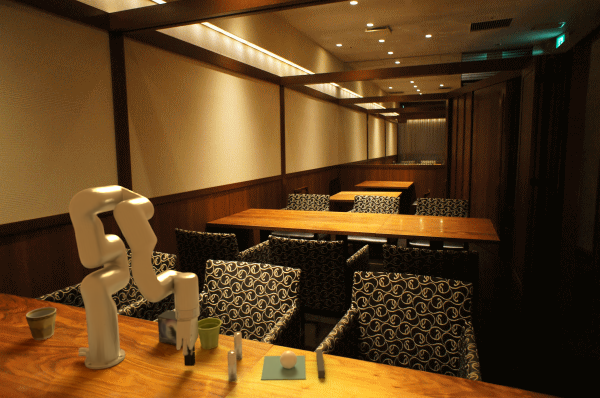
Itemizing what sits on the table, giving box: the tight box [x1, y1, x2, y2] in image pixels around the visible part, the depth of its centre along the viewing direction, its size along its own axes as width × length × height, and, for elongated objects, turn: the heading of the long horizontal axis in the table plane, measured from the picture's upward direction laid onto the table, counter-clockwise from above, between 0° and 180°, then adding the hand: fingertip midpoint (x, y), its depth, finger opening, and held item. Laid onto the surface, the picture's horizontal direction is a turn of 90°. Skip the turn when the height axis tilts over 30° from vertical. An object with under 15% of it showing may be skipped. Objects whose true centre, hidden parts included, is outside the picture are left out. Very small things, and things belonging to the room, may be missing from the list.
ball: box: [280, 350, 297, 369], centre depth 131 cm, size 6×6×6 cm
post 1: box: [227, 349, 238, 383], centre depth 124 cm, size 3×3×9 cm
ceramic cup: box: [25, 306, 57, 341], centre depth 155 cm, size 13×10×10 cm
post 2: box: [233, 331, 243, 361], centre depth 137 cm, size 3×3×9 cm
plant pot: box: [198, 317, 223, 350], centre depth 146 cm, size 9×9×9 cm
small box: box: [157, 309, 183, 347], centre depth 150 cm, size 11×6×10 cm, turn 68°
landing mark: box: [260, 355, 307, 381], centre depth 131 cm, size 14×14×1 cm
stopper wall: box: [315, 349, 326, 379], centre depth 131 cm, size 2×13×2 cm, turn 1°
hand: (190, 364), depth 131 cm, fingers closed
